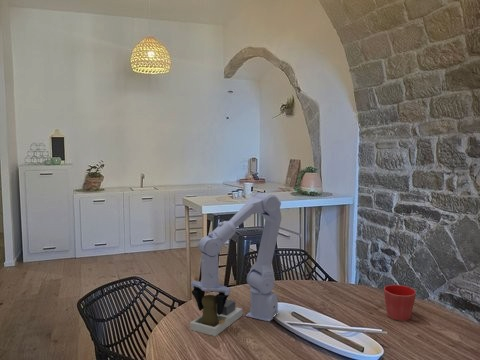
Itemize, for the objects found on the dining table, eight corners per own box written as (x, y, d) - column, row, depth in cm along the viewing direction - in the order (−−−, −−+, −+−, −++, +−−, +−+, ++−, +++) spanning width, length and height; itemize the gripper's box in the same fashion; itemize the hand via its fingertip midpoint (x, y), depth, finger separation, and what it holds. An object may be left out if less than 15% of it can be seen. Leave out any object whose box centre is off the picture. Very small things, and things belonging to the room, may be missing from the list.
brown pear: (215, 332, 135) (215, 300, 134) (198, 330, 137) (197, 298, 136) (221, 324, 141) (220, 293, 140) (204, 322, 143) (203, 292, 142)
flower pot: (419, 315, 146) (420, 289, 146) (408, 325, 139) (408, 298, 138) (390, 307, 154) (391, 282, 153) (377, 316, 146) (378, 290, 145)
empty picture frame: (242, 315, 148) (242, 298, 148) (215, 336, 133) (215, 317, 132) (219, 310, 153) (218, 293, 152) (190, 329, 137) (189, 311, 137)
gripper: (185, 272, 138) (186, 311, 139) (222, 279, 131) (222, 320, 132) (197, 266, 144) (198, 304, 145) (233, 272, 137) (233, 312, 138)
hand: (210, 311), depth 139 cm, fingers open, 7 cm apart
